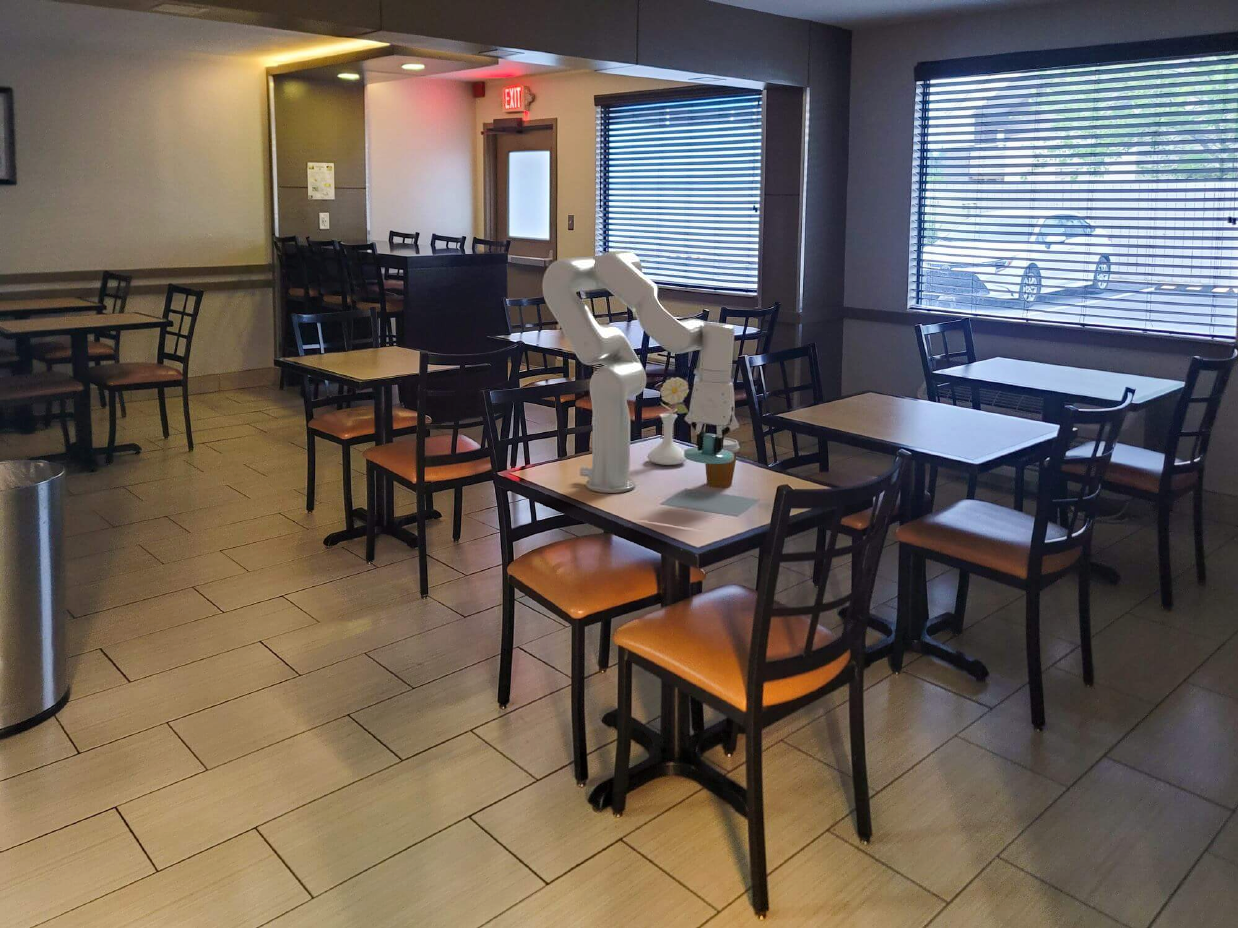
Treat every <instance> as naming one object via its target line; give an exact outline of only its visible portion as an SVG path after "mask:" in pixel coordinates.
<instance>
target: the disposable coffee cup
mask: <svg viewBox="0 0 1238 928" xmlns="http://www.w3.org/2000/svg"><path fill="white" fill-rule="evenodd" d="M739 449H740V445H739V441H738V440H736V439H734V438H729V437H724V442H723V450H727V451H730V452H732V453H733V454H734V460H733V461H732V462H729V463H724V464H706V463H704V464H705V473H706V474H705V475H706V484H707V486H708V487H711V488H718V489H725V488H730V487H732V485H733V478H734V475H735V467H736V462H737V455H738V451H739Z"/></svg>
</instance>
